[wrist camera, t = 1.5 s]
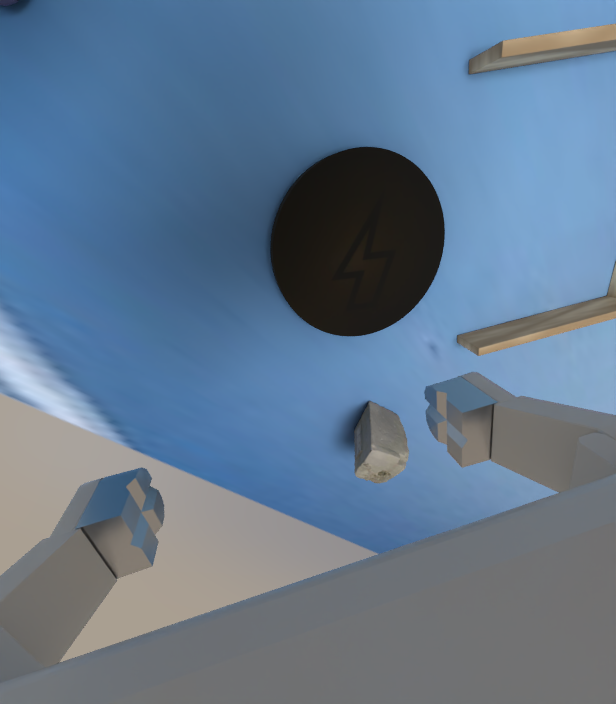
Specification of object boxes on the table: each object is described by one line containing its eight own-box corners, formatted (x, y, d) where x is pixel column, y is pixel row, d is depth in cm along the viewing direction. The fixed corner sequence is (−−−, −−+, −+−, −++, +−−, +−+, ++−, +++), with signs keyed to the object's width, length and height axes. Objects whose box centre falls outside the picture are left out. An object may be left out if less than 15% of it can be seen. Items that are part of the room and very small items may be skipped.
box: (469, 60, 29) (503, 40, 25) (685, 26, 31) (742, 4, 28) (457, 342, 41) (478, 355, 38) (611, 301, 44) (644, 310, 41)
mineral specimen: (348, 396, 40) (387, 438, 34) (395, 404, 45) (437, 443, 39) (323, 443, 42) (356, 491, 36) (370, 447, 47) (407, 490, 41)
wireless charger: (424, 125, 31) (436, 121, 29) (440, 300, 39) (450, 305, 37) (243, 182, 29) (244, 181, 27) (299, 350, 37) (302, 358, 36)
